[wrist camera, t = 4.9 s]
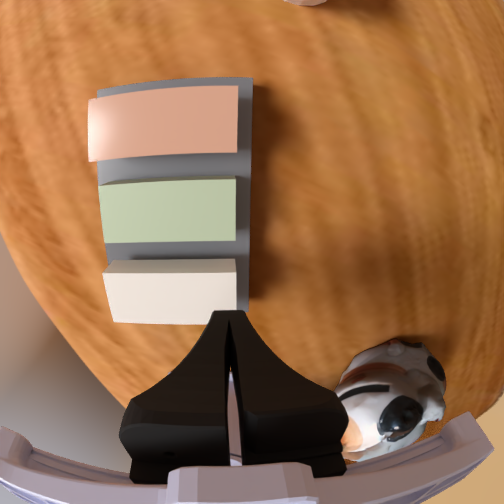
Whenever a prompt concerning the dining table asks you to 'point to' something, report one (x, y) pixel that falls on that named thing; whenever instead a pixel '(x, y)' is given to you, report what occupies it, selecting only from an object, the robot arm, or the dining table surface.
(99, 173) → the button panel
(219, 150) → the terracotta button
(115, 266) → the off-white button
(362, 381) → the lucky cat figurine
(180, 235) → the sage button
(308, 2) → the shot glass
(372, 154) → the dining table surface
